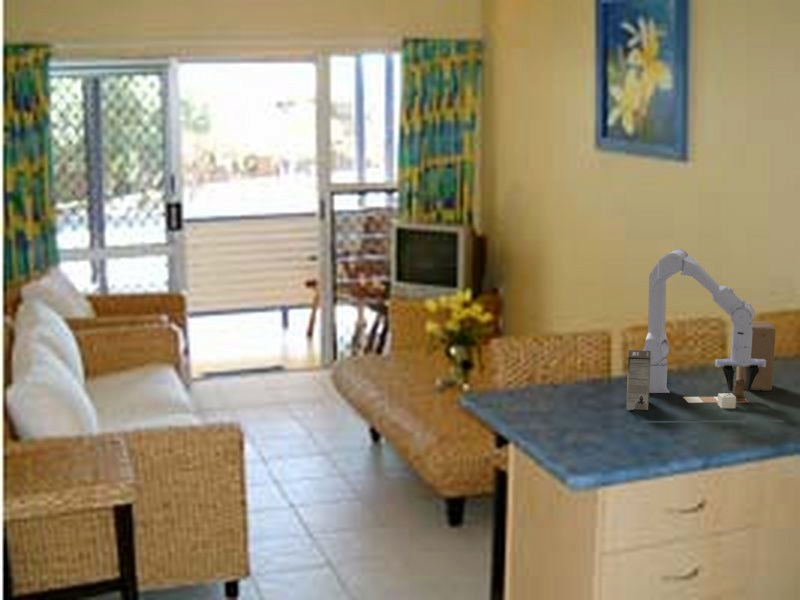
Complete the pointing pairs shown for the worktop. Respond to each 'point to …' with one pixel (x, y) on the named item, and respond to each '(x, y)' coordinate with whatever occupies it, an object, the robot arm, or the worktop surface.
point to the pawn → (739, 389)
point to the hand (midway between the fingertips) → (739, 390)
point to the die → (726, 400)
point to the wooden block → (761, 355)
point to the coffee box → (638, 379)
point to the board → (704, 400)
